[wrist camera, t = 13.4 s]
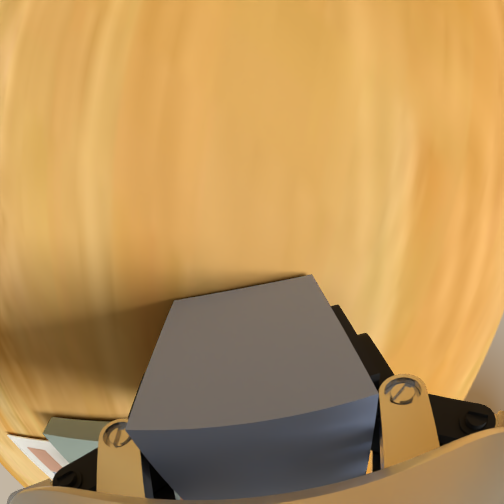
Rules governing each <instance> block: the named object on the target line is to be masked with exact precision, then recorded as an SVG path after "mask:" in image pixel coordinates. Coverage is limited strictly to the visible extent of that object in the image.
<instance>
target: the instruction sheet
mask: <svg viewBox="0 0 504 504" xmlns="http://www.w3.org/2000/svg"><path fill="white" fill-rule="evenodd" d="M7 436H8V437H9V438H10V439H11V440H12V441H13V442H14V443H15V444H16V445H17V446H18V447H19V449H20V450H21V451H22V452H23V453H24V454H25V455H26V456H27V457H28V458H29V459H30V460H31V461H32V462H34V463H35V464H36V465H37V466H38V467H39V468H40V469H41V470H42V471H43V472H44V473H45V474H47V475H48V476H49V477H50V478H51V479H52V480H53V478H54V475H55V474H56V473H57V471H58V470H60V469H61V468H62V467H64V466H66V465H68V464H70V463H69V462H68V461H67V460H66V459H65V458H64V457H63V456H62V455H61V454H60V453H59V452H58V451H57V450H56V448H55V447H54V446H53V445H52V444H51V443H50V442H49V441H48V440H40V439H33V438H27V437H21V436H15V435H10V434H7Z"/></svg>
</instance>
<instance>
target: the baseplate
mask: <svg viewBox="0 0 504 504" xmlns="http://www.w3.org/2000/svg"><path fill="white" fill-rule="evenodd" d="M108 423H110V422H107V421H89V420H76V419H66V418H57V417H51V419H50V421H49V423H48V425H47V426H46V428H45V430H44V432H43V435H44V436H45V437H46V438H47V439H48V440H49V442H50V443H51V444H52V445H53V446H54V447H55V448H56V450H57V451H58V452H59V453H60V454H61V455H62V456H63V457H64V458H65V459H66V460H67V461H68V462H69V463H71V462H73V461H75V460H77V459H78V458H80V457H82V456H84V455H85V454H87V453H89V452H91V451H92V450H94V449H96V448H97V447H98V440H99V434H100V432H101V430H102V429H103V427H105V426H106V425H107V424H108Z"/></svg>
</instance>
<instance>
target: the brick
mask: <svg viewBox="0 0 504 504" xmlns="http://www.w3.org/2000/svg"><path fill="white" fill-rule="evenodd" d="M378 396H379V393H378V391H377V389H376V387H375V386H374V384H373V382H372V380H371V378H370V376H369V374H368V373H367V371H366V369H365V367H364V365H363V363H362V361H361V360H360V358H359V356H358V354H357V352H356V351H355V349H354V347H353V345H352V343H351V342H350V340H349V338H348V336H347V334H346V333H345V331H344V329H343V327H342V326H341V324H340V322H339V320H338V318H337V317H336V315H335V313H334V311H333V310H332V308H331V306H330V305H329V303H328V301H327V299H326V298H325V296H324V294H323V292H322V291H321V289H320V287H319V286H318V284H317V282H316V281H315V279H314V277H313V275H307V276H302V277H297V278H292V279H287V280H282V281H277V282H272V283H267V284H262V285H257V286H252V287H246V288H241V289H236V290H230V291H225V292H219V293H214V294H208V295H203V296H197V297H191V298H186V299H180V300H174V302H173V304H172V307H171V309H170V311H169V314H168V316H167V319H166V321H165V324H164V326H163V329H162V331H161V334H160V336H159V339H158V341H157V344H156V346H155V349H154V351H153V354H152V357H151V359H150V362H149V364H148V367H147V370H146V372H145V375H144V378H143V380H142V383H141V386H140V389H139V391H138V394H137V397H136V400H135V402H134V405H133V408H132V411H131V414H130V417H129V419H128V422H127V425H126V428H125V431H126V432H127V433H128V435H129V436H130V438H131V439H132V440H133V442H134V443H135V444H136V446H137V447H138V448H139V449H140V451H141V452H142V453H143V455H144V456H145V457H146V458H147V460H148V461H149V462H150V463H151V465H152V466H153V467H154V468H155V469H156V471H157V472H158V473H159V474H160V475H161V476H162V478H163V479H164V480H165V481H166V482H167V483H168V484H169V485H170V487H171V488H172V489H173V490H174V491H175V492H176V493H177V494H178V495H179V496H180V497H181V498H182V499H183V500H225V499H241V498H252V497H261V496H269V495H277V494H283V493H290V492H295V491H301V490H306V489H311V488H316V487H321V486H325V485H329V484H334V483H338V482H341V481H345V480H349V479H352V478H356V477H359V476H363V475H366V470H367V465H368V460H369V455H370V450H371V444H372V438H373V432H374V426H375V419H376V412H377V404H378Z"/></svg>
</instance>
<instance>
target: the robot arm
mask: <svg viewBox="0 0 504 504" xmlns="http://www.w3.org/2000/svg"><path fill="white" fill-rule="evenodd" d="M331 308H332V310H333V311H334V313H335V315H336V317H337V318H338V320H339V322H340V324H341V326H342V327H343V329H344V331H345V333H346V334H347V336H348V338H349V340H350V342H351V343H352V345H353V347H354V349H355V351H356V352H357V354H358V356H359V358H360V360H361V361H362V363H363V365H364V367H365V369H366V371H367V373H368V374H369V376H370V378H371V380H372V382H373V384H374V386H375V387H376V389H377V391H378V393H379V396H378V404H377V412H376V419H375V426H374V432H373V438H372V444H371V473H369V474H366V475H363V476H359V477H356V478H352V479H349V480H345V481H341V482H338V483H334V484H329V485H325V486H321V487H316V488H311V489H306V490H301V491H295V492H290V493H283V494H277V495H269V496H261V497H252V498H241V499H225V500H181V499H180V496H179V495H178V494H177V493H176V492H175V491H174V490H173V489H172V488H171V487H170V485H169V484H168V483H167V482H166V481H165V480H164V479H163V478H162V476H161V475H160V474H159V473H158V472H157V471H156V469H155V468H154V467H153V466H152V465H151V463H150V462H149V461H148V460H147V458H146V457H145V456H144V455H143V453H142V452H141V451H140V449H139V448H138V447H137V446H136V444H135V443H134V442H133V440H132V439H131V438H130V436H129V435H128V433H127V432H126V431H125V428H126V425H127V422H128V419H129V417H130V414H131V411H132V408H133V405H134V402H135V400H136V397H137V394H138V391H139V389H140V386H141V383H142V380H143V378H144V375H145V373H144V375H143V378H142V380H141V383H140V386H139V388H138V391H137V394H136V396H135V399H134V402H133V405H132V407H131V410H130V413H129V416H128V419H125V418H124V419H117V420H114V421H111V422H110V423H108V424H107V425H106V426H105V427H103V429H102V430H101V432H100V434H99V440H98V447H97V448H96V449H94V450H92V451H91V452H89V453H87V454H85V455H84V456H82V457H80V458H78V459H77V460H75V461H73V462H71V463H70V464H68V465H66V466H64V467H62V468H61V469H60V470H58V471H57V473H56V474H55V475H54V478H53V481H51V480H50V479H47V480H45V481H42V482H39V483H37V484H34V485H31V486H29V487H26V488H23V489H20V490H18V491H15V492H14V493H12V494H11V495H10V496H9V498H8V501H7V504H504V410H503V411H502V410H500V411H499V412H498V414H494V413H493V412H492V410H491V409H490V408H488V407H486V406H485V405H482V404H478V403H471V402H466V401H461V400H456V399H451V398H446V397H441V396H436V395H432V394H428V393H427V389H426V386H425V384H424V382H423V381H422V380H421V379H420V378H418V377H416V376H414V375H410V374H398V375H394V374H393V372H392V370H391V369H390V367H389V366H388V364H387V363H386V361H385V359H384V358H383V356H382V355H381V353H380V352H379V350H378V349H377V347H376V346H375V344H374V343H373V341H372V340H371V338H370V337H369V335H368V334H367V333H363V334H359V335H357V334H356V332H355V330H354V329H353V327H352V325H351V324H350V322H349V321H348V319H347V317H346V316H345V314H344V313H343V311H342V309H341V308H340V306H339V305H334V306H331Z"/></svg>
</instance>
